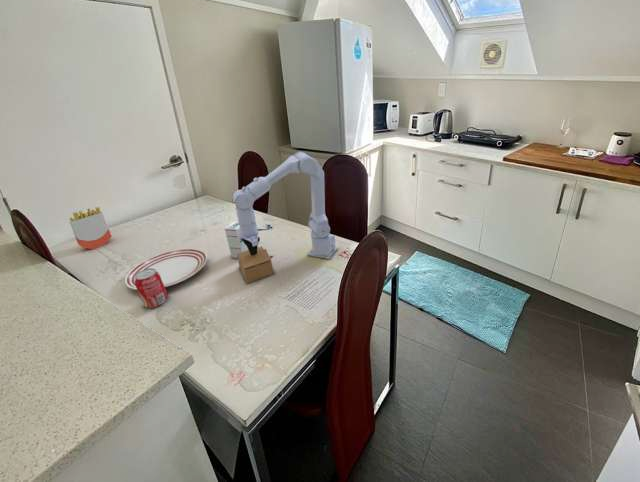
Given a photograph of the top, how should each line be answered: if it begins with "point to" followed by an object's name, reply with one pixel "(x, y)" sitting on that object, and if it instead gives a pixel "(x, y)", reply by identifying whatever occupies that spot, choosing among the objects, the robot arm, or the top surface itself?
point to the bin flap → (255, 258)
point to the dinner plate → (171, 266)
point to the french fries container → (90, 229)
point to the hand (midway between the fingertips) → (253, 254)
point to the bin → (255, 268)
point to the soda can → (150, 287)
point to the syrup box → (235, 239)
